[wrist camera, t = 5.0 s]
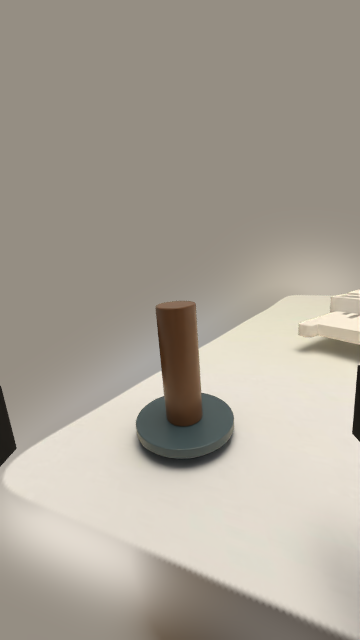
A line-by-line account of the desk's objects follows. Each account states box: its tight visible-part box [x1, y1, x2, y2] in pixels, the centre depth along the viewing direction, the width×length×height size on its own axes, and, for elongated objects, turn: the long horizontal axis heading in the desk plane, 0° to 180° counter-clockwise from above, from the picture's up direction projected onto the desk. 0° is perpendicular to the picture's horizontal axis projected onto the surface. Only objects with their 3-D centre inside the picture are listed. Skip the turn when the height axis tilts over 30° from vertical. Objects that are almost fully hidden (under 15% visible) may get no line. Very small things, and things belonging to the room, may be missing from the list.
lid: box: [136, 301, 234, 459], centre depth 17 cm, size 6×6×9 cm
